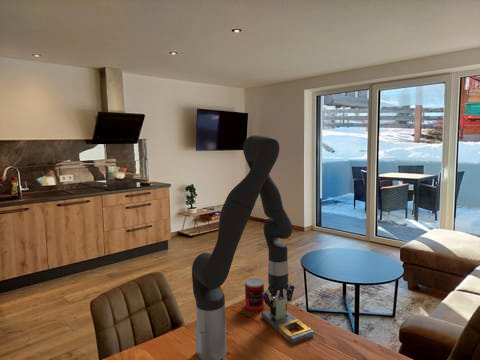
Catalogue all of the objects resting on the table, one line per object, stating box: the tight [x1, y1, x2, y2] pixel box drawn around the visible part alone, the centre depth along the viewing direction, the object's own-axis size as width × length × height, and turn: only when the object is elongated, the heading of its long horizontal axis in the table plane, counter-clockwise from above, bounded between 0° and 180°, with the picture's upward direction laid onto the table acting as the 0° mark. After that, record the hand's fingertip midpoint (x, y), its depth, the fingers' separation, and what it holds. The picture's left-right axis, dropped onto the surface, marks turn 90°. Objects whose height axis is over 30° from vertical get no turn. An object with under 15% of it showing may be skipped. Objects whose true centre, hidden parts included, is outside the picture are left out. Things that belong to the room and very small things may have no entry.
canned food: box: [244, 277, 265, 313], centre depth 140 cm, size 8×8×11 cm
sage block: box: [271, 297, 287, 320], centre depth 130 cm, size 4×4×9 cm
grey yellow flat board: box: [261, 309, 314, 345], centre depth 126 cm, size 9×20×2 cm, turn 27°
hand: (278, 313), depth 130 cm, fingers closed on sage block, 4 cm apart
